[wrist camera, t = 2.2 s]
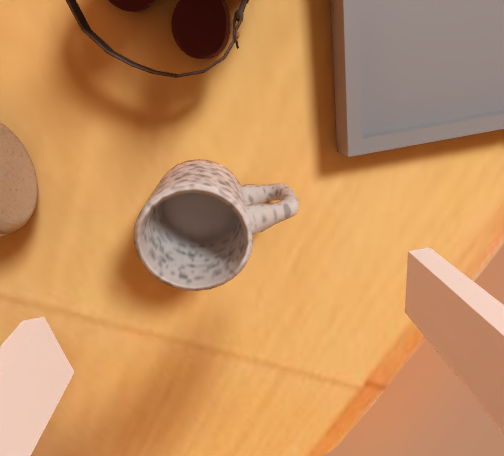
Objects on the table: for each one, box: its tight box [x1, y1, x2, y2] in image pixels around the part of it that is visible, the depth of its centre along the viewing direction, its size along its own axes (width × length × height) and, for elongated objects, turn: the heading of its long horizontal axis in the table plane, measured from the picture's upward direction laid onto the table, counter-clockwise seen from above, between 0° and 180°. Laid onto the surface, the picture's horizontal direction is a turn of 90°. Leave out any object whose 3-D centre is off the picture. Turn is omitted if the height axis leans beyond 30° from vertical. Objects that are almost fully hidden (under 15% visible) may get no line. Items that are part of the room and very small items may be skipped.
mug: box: [134, 160, 299, 291], centre depth 21 cm, size 10×7×7 cm, turn 102°
